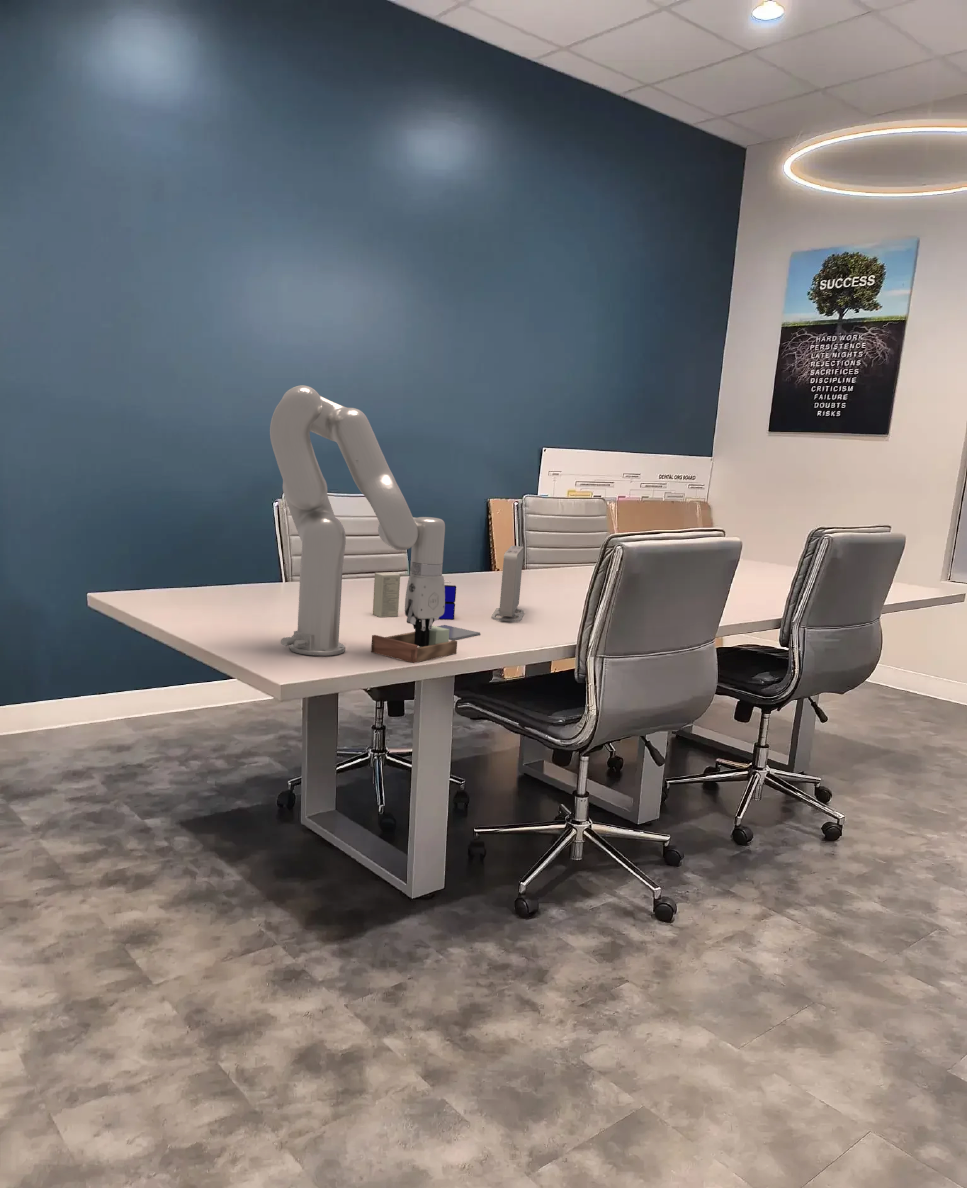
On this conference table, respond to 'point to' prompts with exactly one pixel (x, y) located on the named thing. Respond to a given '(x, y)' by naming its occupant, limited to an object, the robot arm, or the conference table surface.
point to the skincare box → (386, 594)
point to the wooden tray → (410, 648)
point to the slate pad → (459, 632)
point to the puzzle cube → (449, 601)
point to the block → (438, 635)
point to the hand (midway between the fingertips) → (421, 645)
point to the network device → (510, 585)
